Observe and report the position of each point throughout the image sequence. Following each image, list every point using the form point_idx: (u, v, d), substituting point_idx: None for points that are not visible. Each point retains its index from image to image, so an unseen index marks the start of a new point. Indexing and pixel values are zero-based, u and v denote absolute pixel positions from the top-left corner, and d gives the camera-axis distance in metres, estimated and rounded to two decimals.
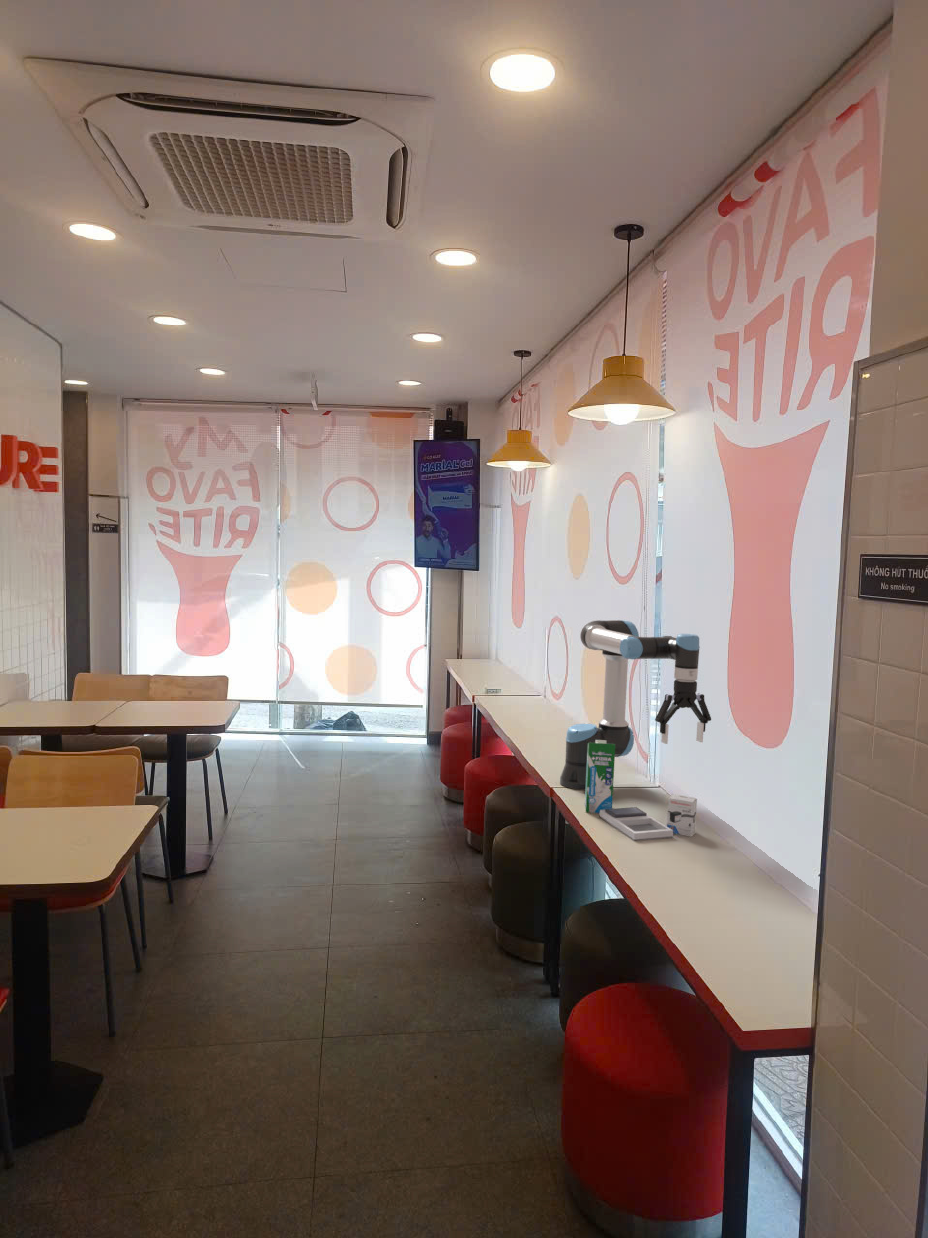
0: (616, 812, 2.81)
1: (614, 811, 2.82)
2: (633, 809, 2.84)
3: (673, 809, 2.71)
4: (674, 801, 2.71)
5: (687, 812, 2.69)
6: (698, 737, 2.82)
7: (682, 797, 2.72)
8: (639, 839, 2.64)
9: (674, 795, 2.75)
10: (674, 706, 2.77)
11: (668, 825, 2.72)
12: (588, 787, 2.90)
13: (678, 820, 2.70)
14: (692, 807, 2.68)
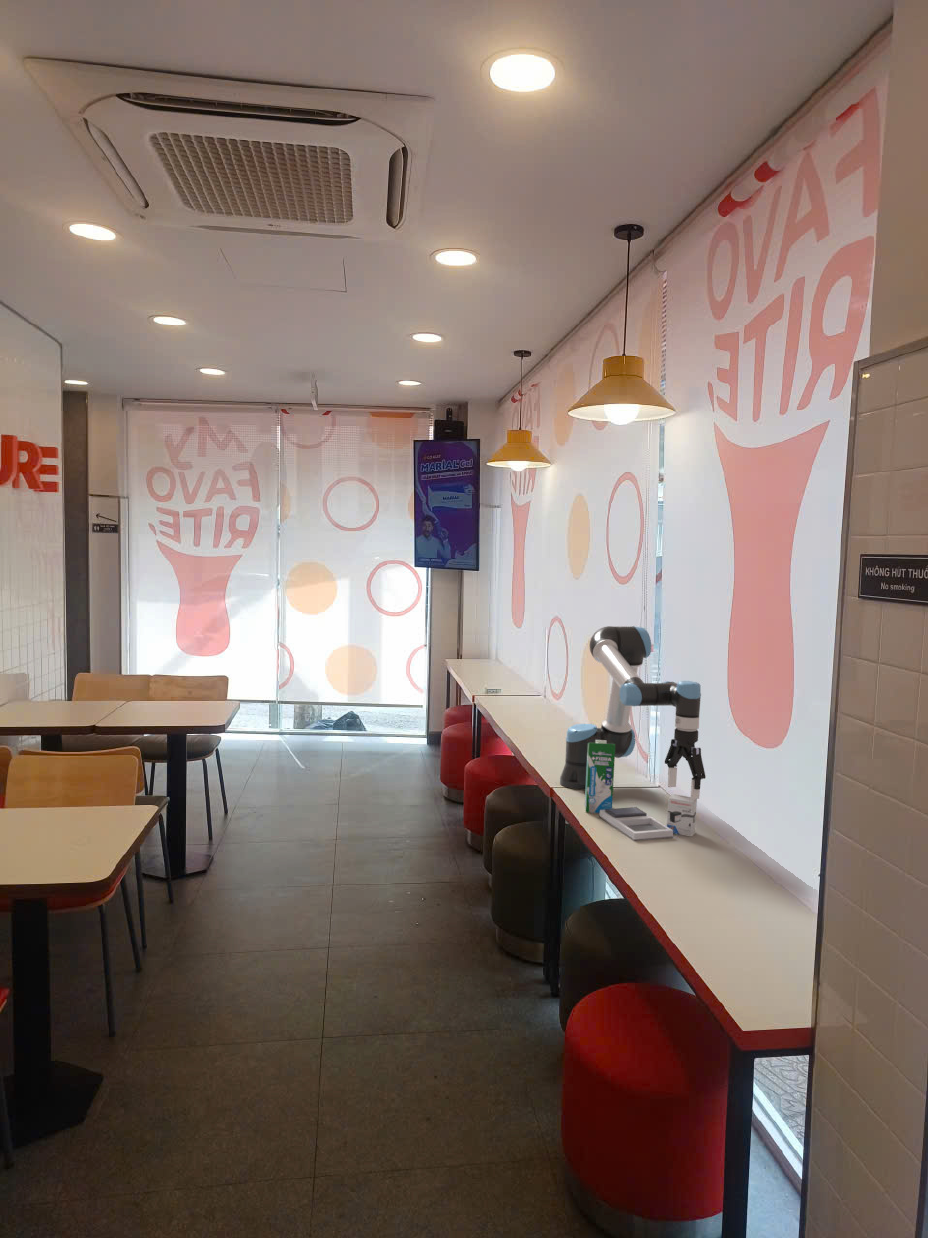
0: (616, 812, 2.81)
1: (614, 811, 2.82)
2: (633, 809, 2.84)
3: (673, 809, 2.71)
4: (674, 801, 2.71)
5: (687, 812, 2.69)
6: None
7: (682, 797, 2.73)
8: (639, 839, 2.64)
9: (674, 795, 2.75)
10: None
11: (668, 825, 2.72)
12: (588, 787, 2.90)
13: (678, 820, 2.70)
14: (692, 807, 2.68)
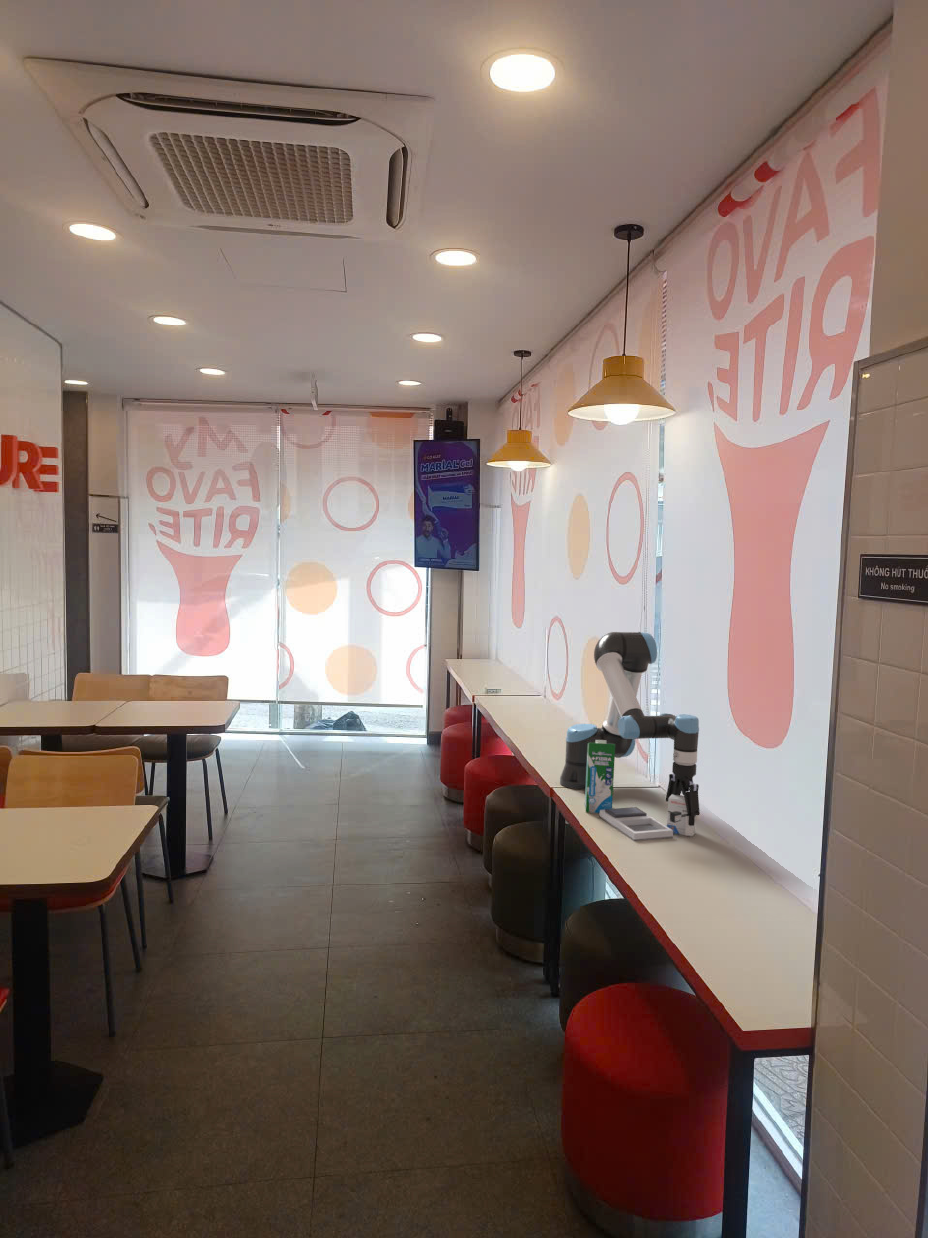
0: (616, 812, 2.81)
1: (614, 811, 2.82)
2: (633, 809, 2.84)
3: (673, 809, 2.71)
4: (674, 801, 2.71)
5: None
6: None
7: (682, 797, 2.72)
8: (639, 839, 2.64)
9: (674, 795, 2.75)
10: None
11: (668, 825, 2.72)
12: (588, 787, 2.90)
13: (678, 820, 2.70)
14: None
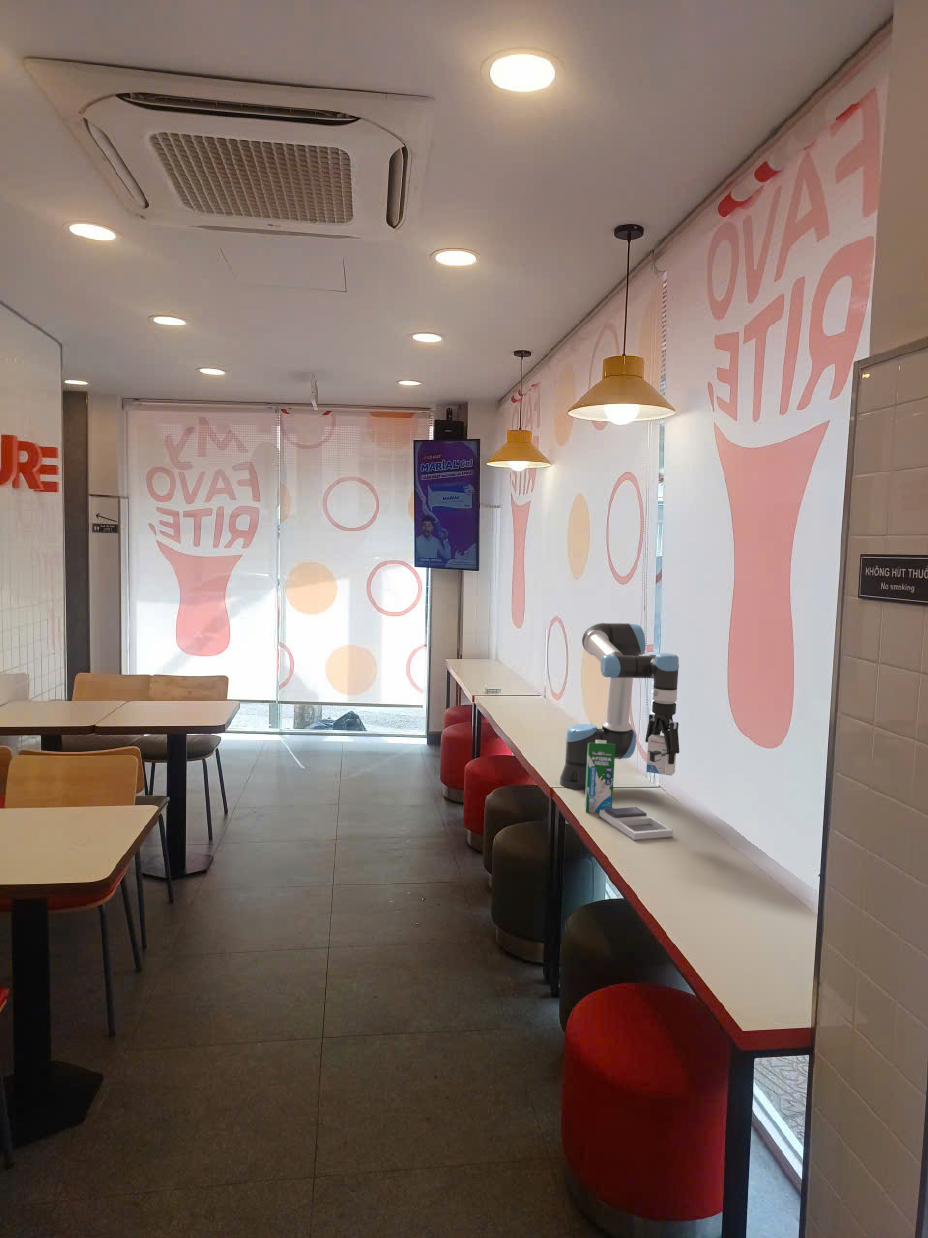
0: (616, 812, 2.81)
1: (614, 811, 2.82)
2: (633, 809, 2.84)
3: (653, 749, 2.69)
4: (654, 740, 2.68)
5: None
6: None
7: (662, 736, 2.70)
8: (639, 839, 2.64)
9: (654, 735, 2.72)
10: None
11: (648, 765, 2.70)
12: (588, 787, 2.90)
13: (658, 759, 2.68)
14: None
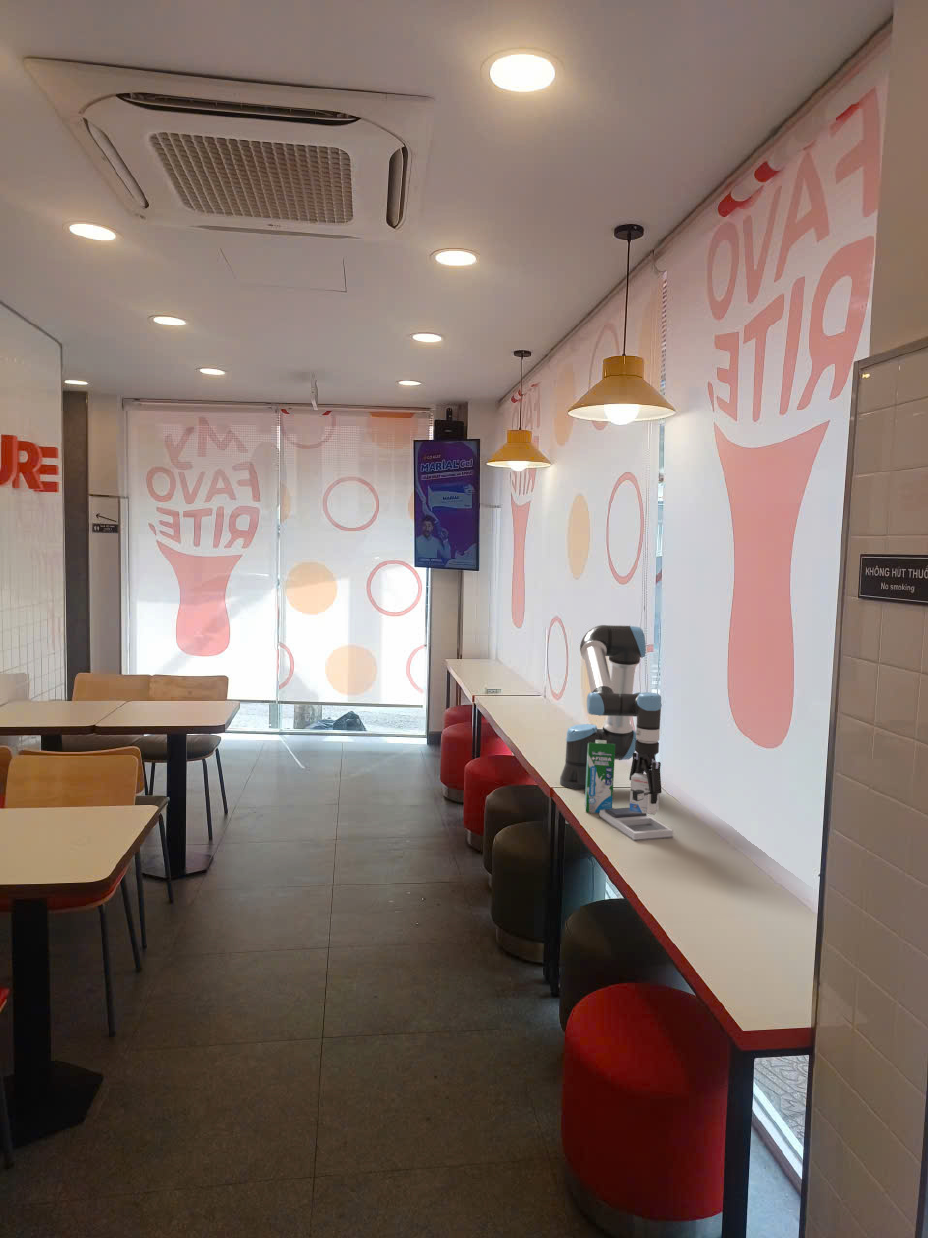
0: (616, 812, 2.81)
1: (614, 811, 2.82)
2: None
3: (635, 788, 2.69)
4: (636, 779, 2.69)
5: None
6: None
7: (645, 775, 2.71)
8: (639, 839, 2.64)
9: (638, 773, 2.73)
10: None
11: (631, 804, 2.70)
12: (588, 787, 2.90)
13: (640, 798, 2.69)
14: None
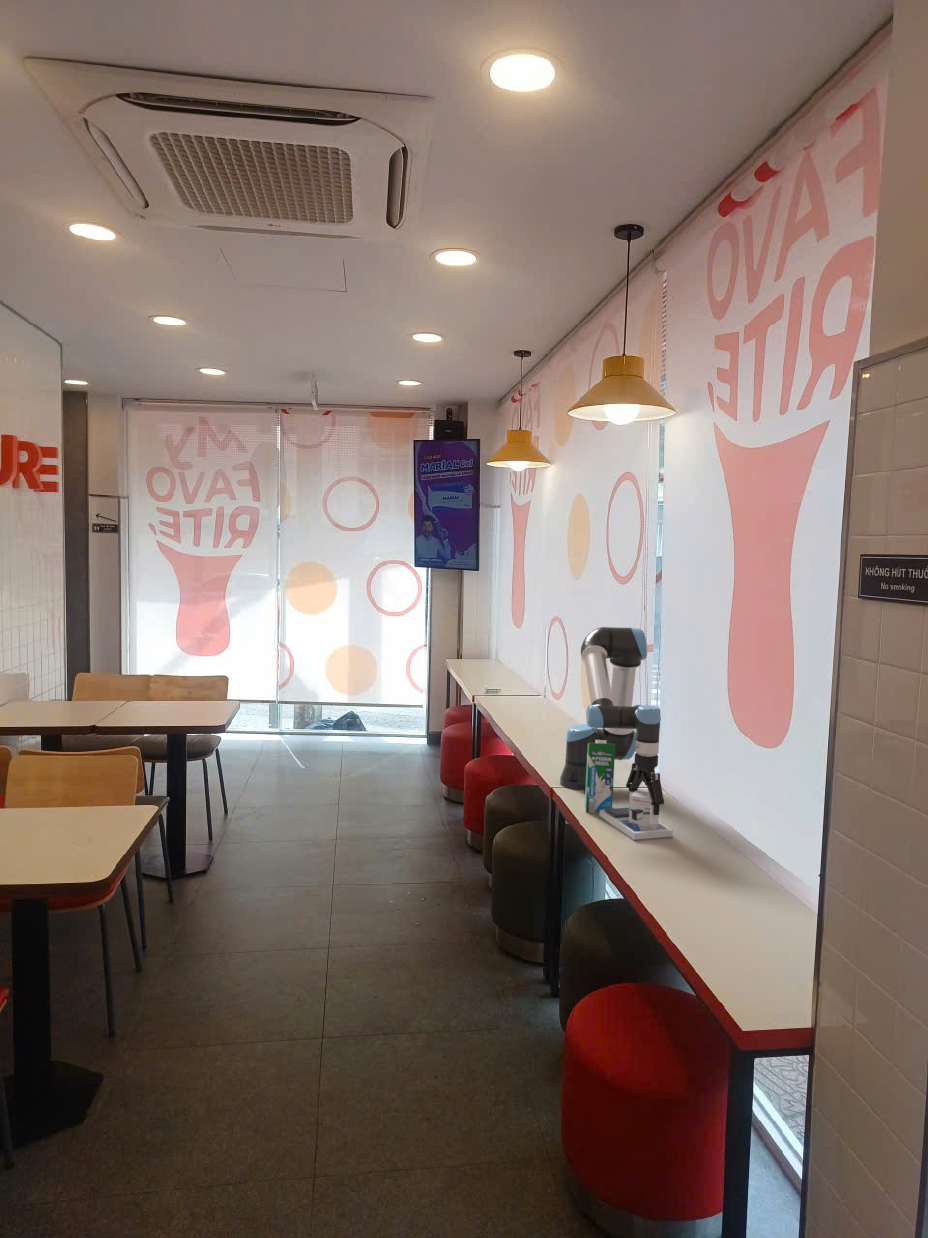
0: (616, 812, 2.81)
1: (614, 811, 2.82)
2: None
3: (635, 807, 2.70)
4: (636, 798, 2.70)
5: (649, 810, 2.68)
6: None
7: (644, 794, 2.72)
8: (639, 839, 2.64)
9: (636, 792, 2.74)
10: None
11: (630, 823, 2.71)
12: (588, 787, 2.90)
13: (640, 818, 2.70)
14: None
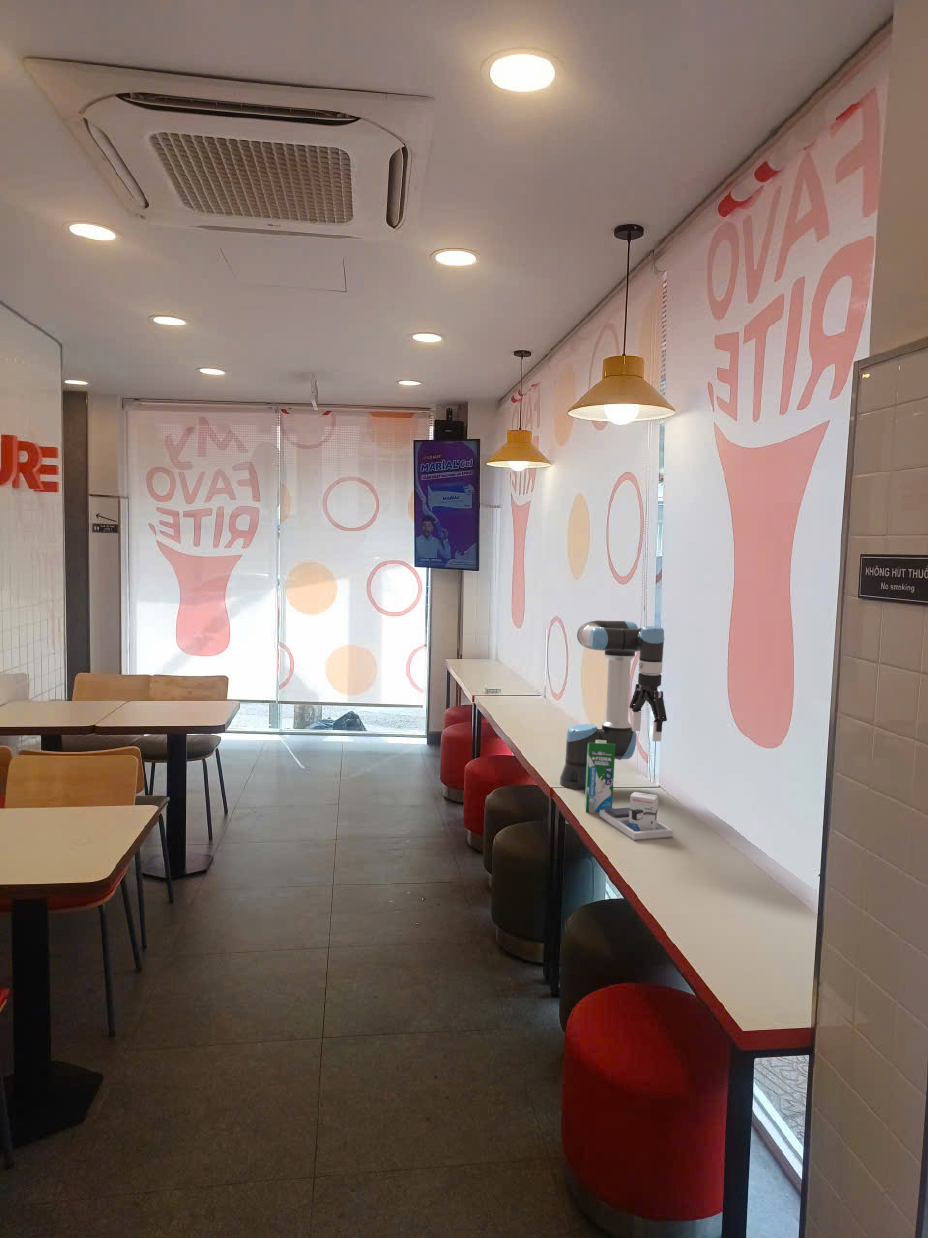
0: (616, 812, 2.81)
1: (614, 811, 2.82)
2: None
3: (635, 807, 2.70)
4: (636, 798, 2.70)
5: (649, 810, 2.68)
6: None
7: (644, 794, 2.72)
8: (639, 839, 2.64)
9: (636, 792, 2.74)
10: None
11: (630, 823, 2.71)
12: (588, 787, 2.90)
13: (640, 818, 2.70)
14: (654, 805, 2.68)
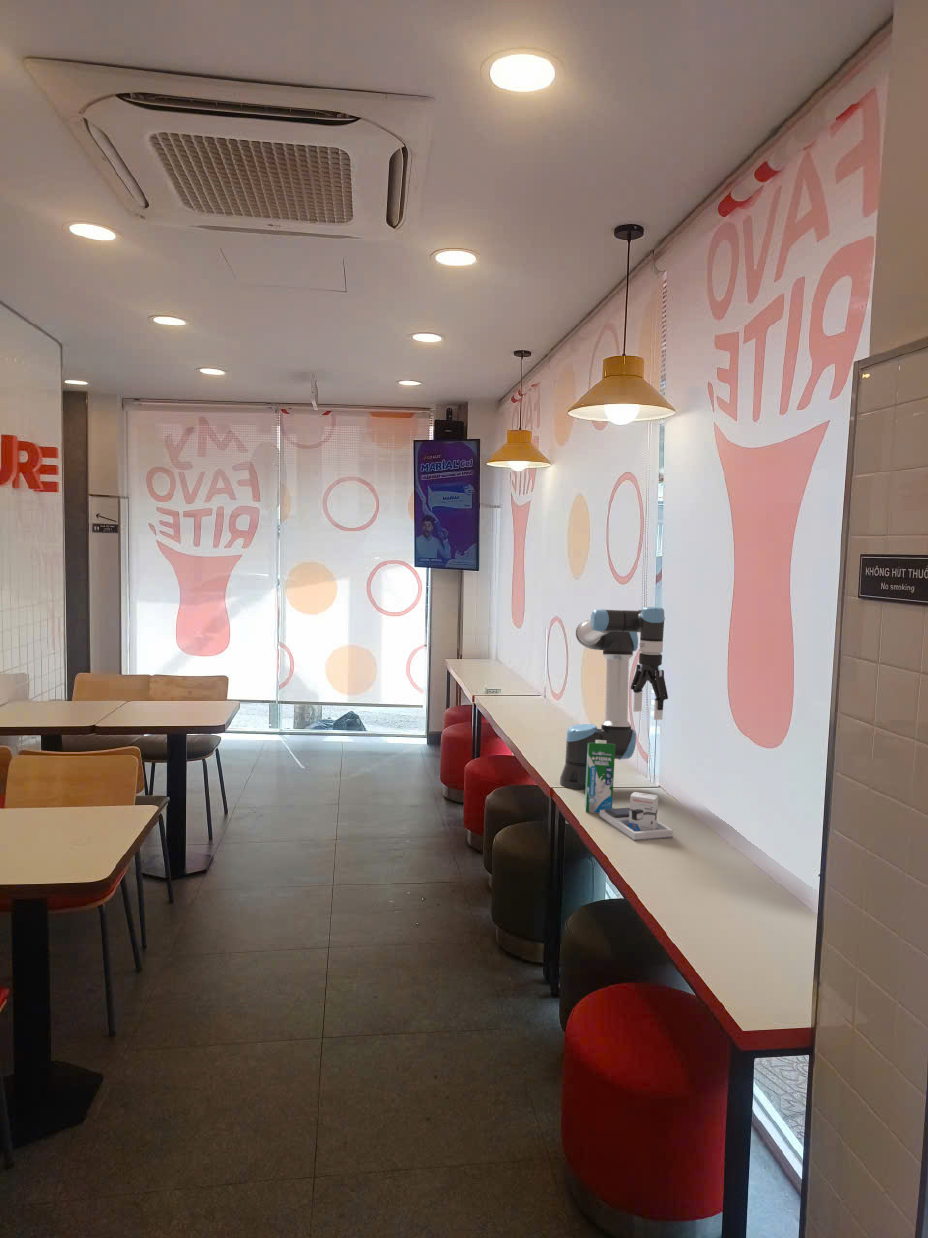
0: (616, 812, 2.81)
1: (614, 811, 2.82)
2: None
3: (635, 807, 2.70)
4: (636, 798, 2.70)
5: (649, 810, 2.68)
6: None
7: (644, 794, 2.72)
8: (639, 839, 2.64)
9: (636, 792, 2.74)
10: None
11: (630, 823, 2.71)
12: (588, 787, 2.90)
13: (640, 818, 2.70)
14: (654, 805, 2.68)
